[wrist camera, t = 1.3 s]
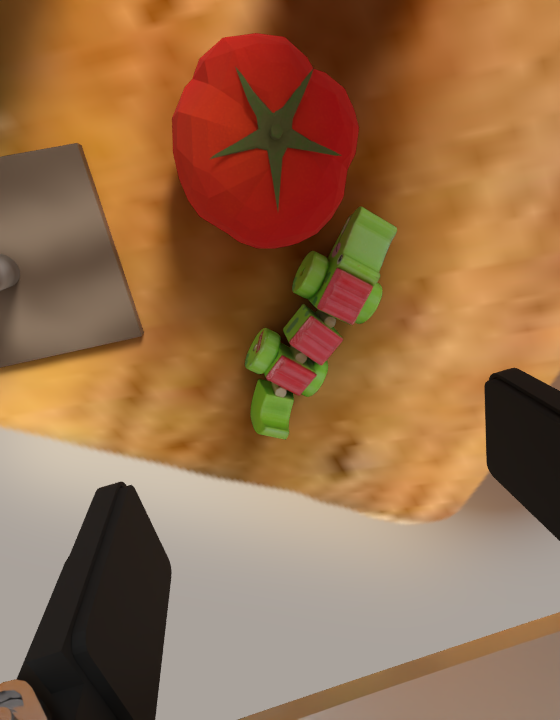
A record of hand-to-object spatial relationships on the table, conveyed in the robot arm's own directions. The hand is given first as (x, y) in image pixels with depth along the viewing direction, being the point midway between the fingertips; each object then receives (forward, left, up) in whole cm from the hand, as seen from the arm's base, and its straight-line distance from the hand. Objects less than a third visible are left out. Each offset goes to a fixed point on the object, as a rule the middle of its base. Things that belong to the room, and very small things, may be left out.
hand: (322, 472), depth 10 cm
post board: (-5, -17, -25) cm, 31 cm away
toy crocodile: (+4, +5, -25) cm, 26 cm away
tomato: (-9, +3, -25) cm, 27 cm away
